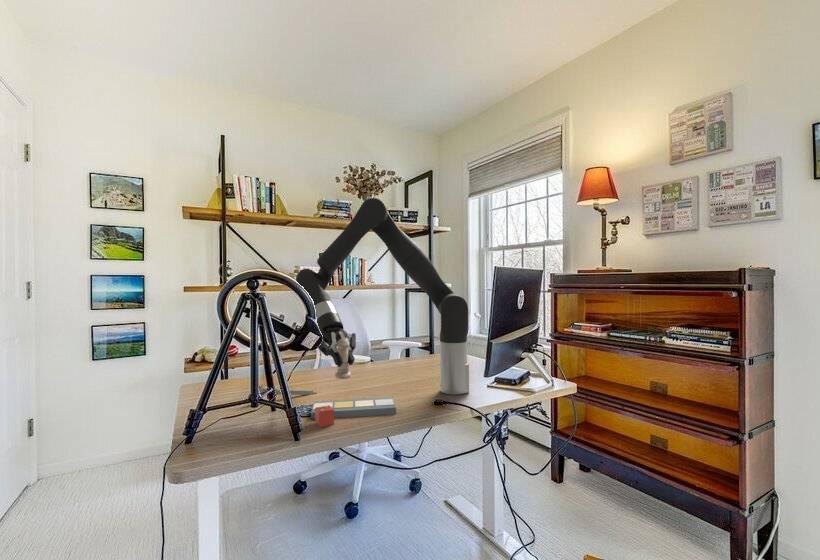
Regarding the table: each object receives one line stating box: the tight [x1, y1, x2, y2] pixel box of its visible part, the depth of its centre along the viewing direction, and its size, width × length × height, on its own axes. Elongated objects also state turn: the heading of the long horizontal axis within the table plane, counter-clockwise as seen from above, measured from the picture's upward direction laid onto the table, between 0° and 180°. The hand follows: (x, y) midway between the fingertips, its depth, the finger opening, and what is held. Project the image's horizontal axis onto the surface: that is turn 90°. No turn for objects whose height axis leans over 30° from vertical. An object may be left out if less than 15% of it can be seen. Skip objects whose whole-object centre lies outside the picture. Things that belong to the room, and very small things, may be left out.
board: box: [310, 396, 397, 419], centre depth 119 cm, size 24×10×2 cm, turn 98°
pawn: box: [334, 338, 351, 380], centre depth 118 cm, size 4×4×11 cm
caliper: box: [259, 384, 318, 398], centre depth 132 cm, size 20×1×6 cm, turn 124°
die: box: [314, 405, 335, 428], centre depth 109 cm, size 4×4×4 cm
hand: (346, 364), depth 117 cm, fingers closed on pawn, 3 cm apart
